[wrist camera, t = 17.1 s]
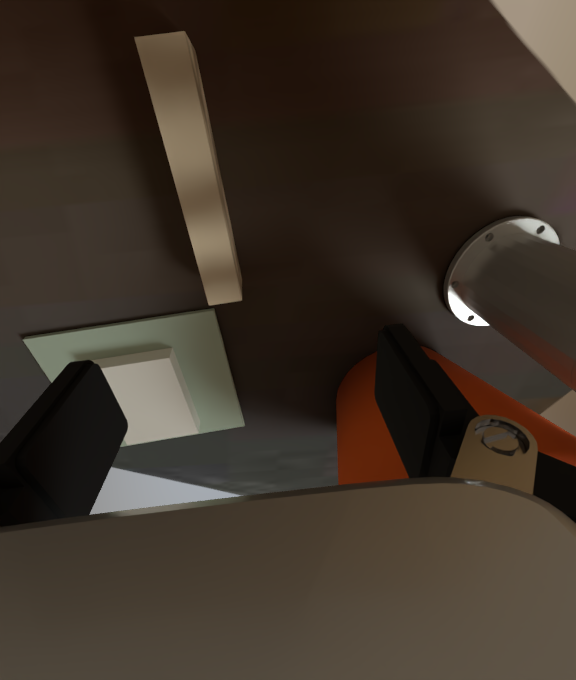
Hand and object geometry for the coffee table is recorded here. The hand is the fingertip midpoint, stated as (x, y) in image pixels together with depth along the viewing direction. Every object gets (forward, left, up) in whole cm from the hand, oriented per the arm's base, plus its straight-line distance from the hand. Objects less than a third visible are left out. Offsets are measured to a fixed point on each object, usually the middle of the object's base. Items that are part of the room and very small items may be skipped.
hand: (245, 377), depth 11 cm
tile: (+15, +12, -22) cm, 29 cm away
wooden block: (+3, -3, -24) cm, 24 cm away
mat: (+15, +17, -23) cm, 33 cm away
